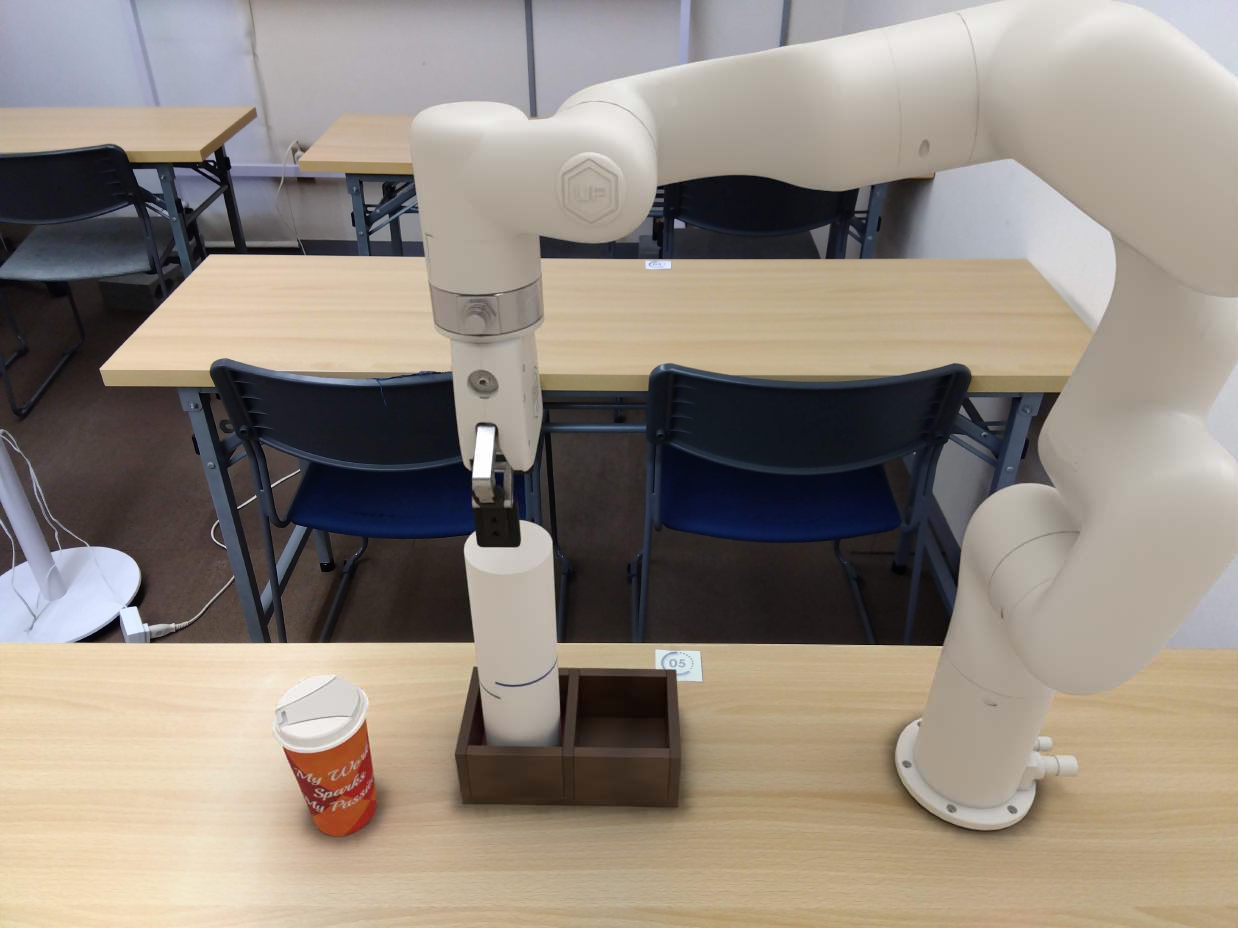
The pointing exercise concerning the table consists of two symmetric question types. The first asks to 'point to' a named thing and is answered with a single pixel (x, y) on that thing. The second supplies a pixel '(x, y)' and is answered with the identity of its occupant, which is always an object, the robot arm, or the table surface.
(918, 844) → the table surface
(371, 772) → the paper cup
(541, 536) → the cylindrical container
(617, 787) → the wooden compartment box
